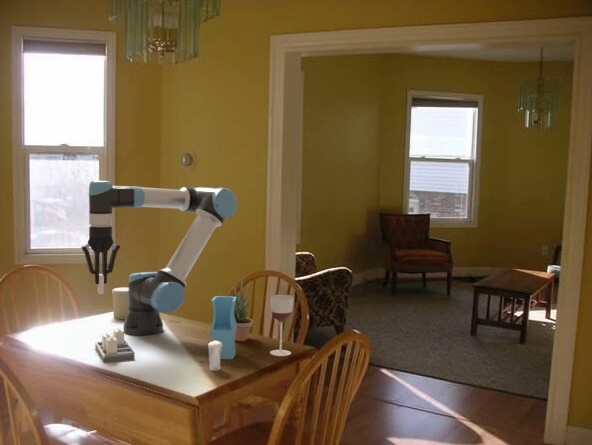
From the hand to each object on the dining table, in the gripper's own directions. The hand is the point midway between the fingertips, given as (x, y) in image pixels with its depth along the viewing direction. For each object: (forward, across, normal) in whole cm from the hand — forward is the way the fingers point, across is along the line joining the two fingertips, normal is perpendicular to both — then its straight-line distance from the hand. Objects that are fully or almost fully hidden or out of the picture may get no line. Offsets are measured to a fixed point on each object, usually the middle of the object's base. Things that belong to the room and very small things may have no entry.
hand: (100, 293), depth 216 cm
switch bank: (+20, -3, +8) cm, 21 cm away
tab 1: (+18, -1, +7) cm, 20 cm away
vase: (+20, -36, +24) cm, 48 cm away
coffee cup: (+20, -18, -44) cm, 52 cm away
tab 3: (+18, -6, +2) cm, 19 cm away
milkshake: (+20, -28, +36) cm, 50 cm away
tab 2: (+18, -1, +13) cm, 22 cm away
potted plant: (+21, -50, +6) cm, 54 cm away
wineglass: (+21, -56, +29) cm, 66 cm away
